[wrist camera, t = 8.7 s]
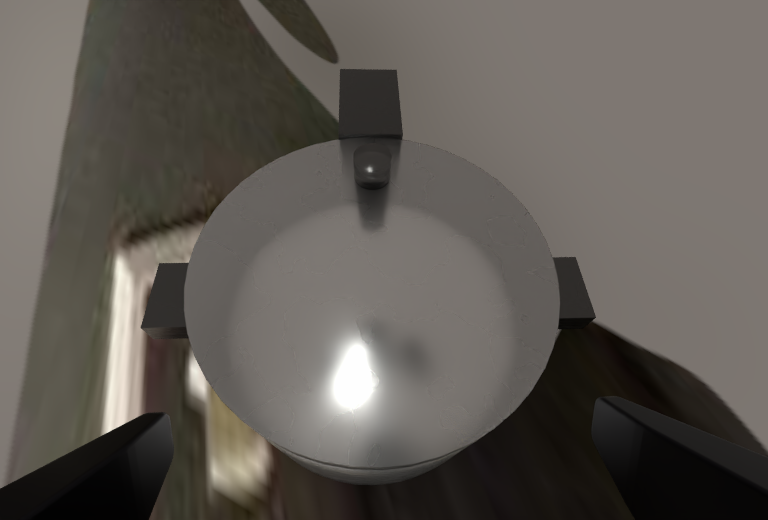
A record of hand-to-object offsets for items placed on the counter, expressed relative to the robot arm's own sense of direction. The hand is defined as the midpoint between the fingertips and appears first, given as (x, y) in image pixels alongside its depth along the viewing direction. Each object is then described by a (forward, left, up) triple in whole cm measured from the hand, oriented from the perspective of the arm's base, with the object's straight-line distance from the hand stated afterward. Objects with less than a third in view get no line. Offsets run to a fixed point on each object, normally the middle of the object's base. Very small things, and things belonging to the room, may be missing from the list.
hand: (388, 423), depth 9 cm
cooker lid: (+9, 0, -5) cm, 10 cm away
